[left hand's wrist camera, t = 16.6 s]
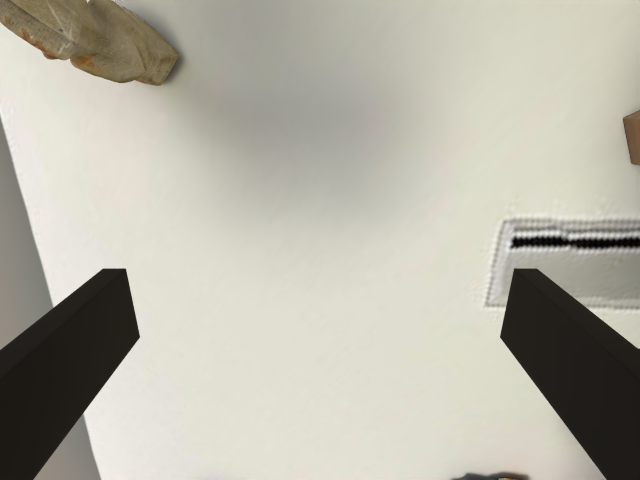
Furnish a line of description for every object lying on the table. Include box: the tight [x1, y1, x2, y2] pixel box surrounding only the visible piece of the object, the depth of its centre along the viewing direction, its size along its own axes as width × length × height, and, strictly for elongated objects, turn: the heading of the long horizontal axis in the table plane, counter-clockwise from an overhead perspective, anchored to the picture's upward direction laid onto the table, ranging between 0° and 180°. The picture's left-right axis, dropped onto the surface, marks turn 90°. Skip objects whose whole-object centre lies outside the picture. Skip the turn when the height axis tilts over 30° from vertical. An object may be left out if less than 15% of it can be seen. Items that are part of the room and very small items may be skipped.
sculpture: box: [0, 0, 178, 86], centre depth 30 cm, size 6×7×15 cm
